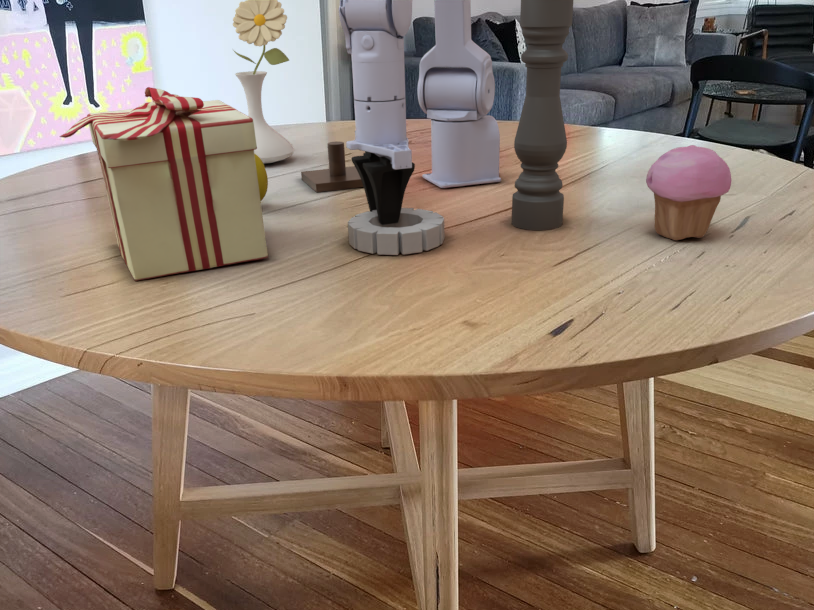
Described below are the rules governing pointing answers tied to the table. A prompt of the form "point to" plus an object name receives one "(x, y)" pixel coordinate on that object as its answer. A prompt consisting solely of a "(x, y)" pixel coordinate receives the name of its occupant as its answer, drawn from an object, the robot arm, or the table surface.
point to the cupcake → (687, 190)
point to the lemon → (261, 177)
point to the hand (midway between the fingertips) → (384, 219)
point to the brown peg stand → (333, 172)
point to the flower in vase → (260, 26)
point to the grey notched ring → (396, 232)
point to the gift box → (180, 183)
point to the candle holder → (541, 116)
